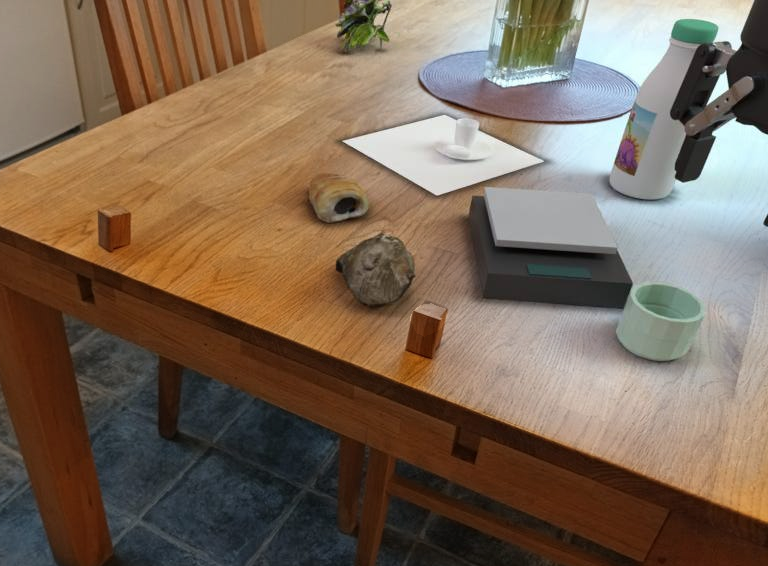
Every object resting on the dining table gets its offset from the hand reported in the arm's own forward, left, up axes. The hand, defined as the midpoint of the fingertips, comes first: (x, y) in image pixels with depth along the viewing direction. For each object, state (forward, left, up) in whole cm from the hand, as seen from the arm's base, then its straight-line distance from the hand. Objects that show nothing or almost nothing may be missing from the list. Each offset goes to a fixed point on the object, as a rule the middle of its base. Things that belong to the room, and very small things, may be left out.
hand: (727, 201), depth 57 cm
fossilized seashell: (+27, -7, -15) cm, 32 cm away
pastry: (+32, -24, -15) cm, 43 cm away
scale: (+9, -15, -15) cm, 23 cm away
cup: (+1, -1, -15) cm, 15 cm away
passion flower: (+30, -91, -15) cm, 97 cm away
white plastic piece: (+18, -43, -15) cm, 49 cm away
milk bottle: (-7, -35, -15) cm, 39 cm away
